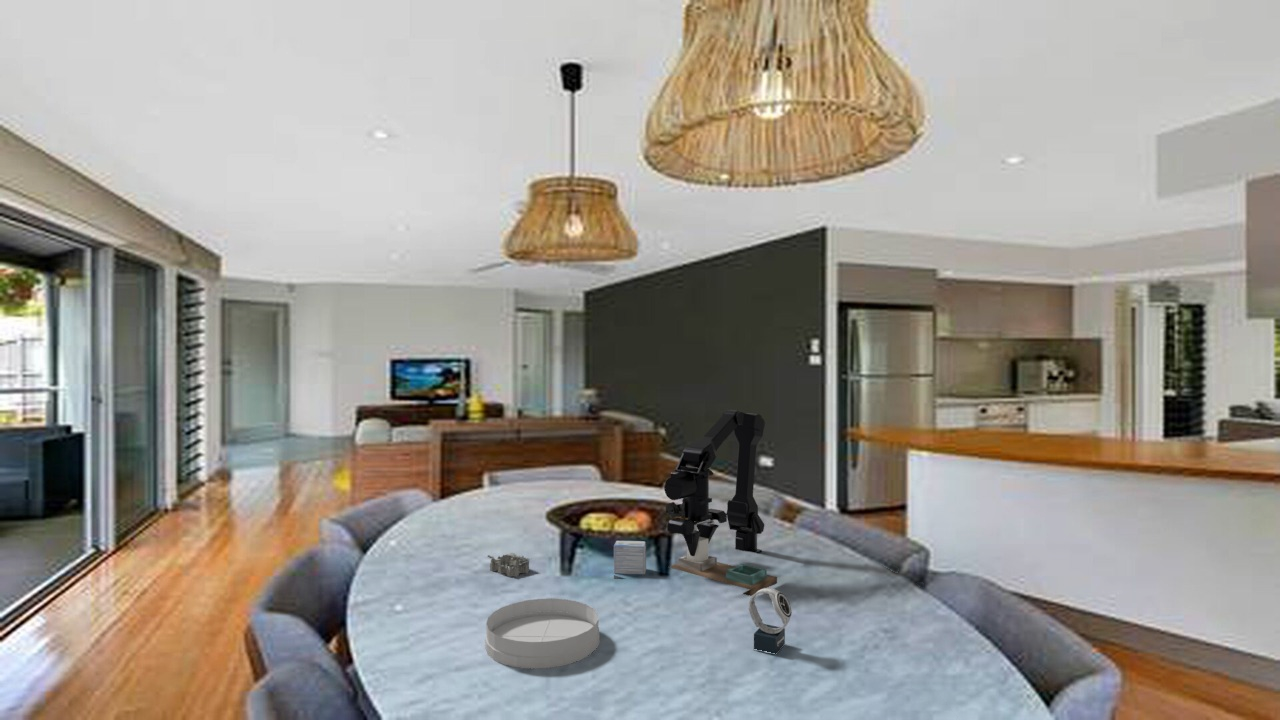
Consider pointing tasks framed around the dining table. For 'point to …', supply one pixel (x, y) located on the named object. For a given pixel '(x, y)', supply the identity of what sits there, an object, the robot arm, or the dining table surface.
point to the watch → (770, 635)
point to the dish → (542, 633)
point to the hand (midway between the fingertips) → (697, 554)
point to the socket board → (728, 573)
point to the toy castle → (510, 564)
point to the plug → (700, 551)
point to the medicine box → (629, 557)
